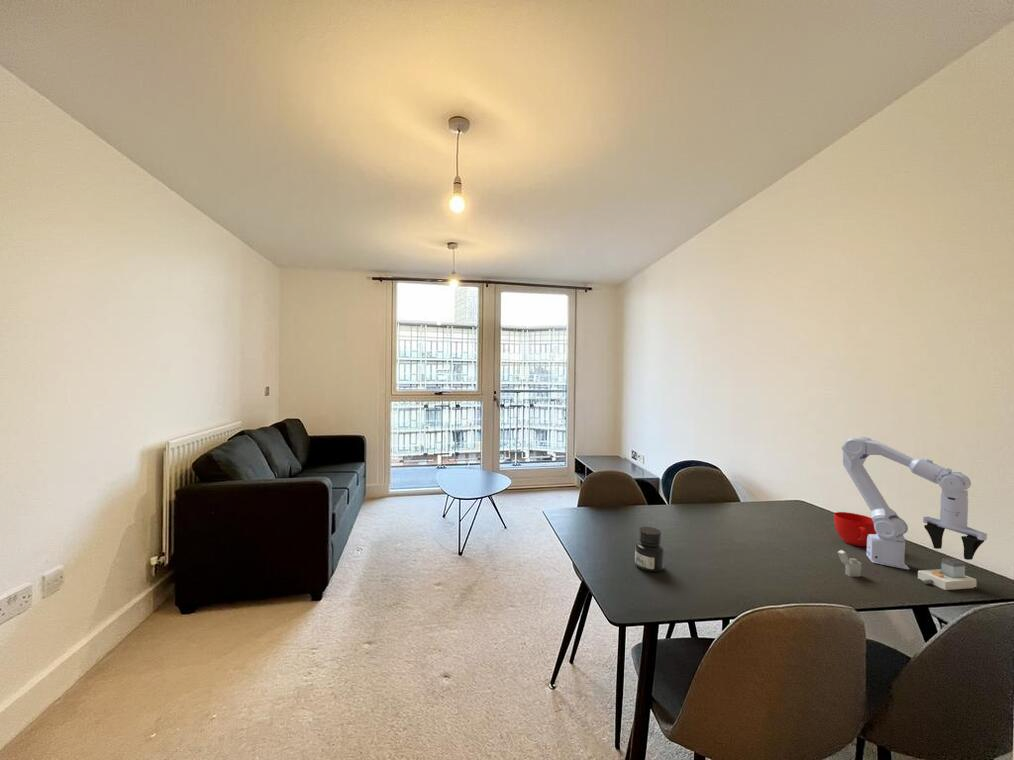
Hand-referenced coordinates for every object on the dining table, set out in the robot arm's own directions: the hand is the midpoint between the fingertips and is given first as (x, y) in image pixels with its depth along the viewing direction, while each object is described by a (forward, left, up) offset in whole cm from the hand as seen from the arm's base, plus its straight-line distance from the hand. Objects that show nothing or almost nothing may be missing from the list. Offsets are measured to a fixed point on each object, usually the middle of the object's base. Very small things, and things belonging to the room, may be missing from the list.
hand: (952, 553), depth 125 cm
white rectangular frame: (-2, -2, -9) cm, 10 cm away
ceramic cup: (-18, +22, -10) cm, 30 cm away
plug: (0, 0, -9) cm, 9 cm away
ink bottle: (-84, -42, -10) cm, 95 cm away
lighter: (-27, -12, -10) cm, 32 cm away
